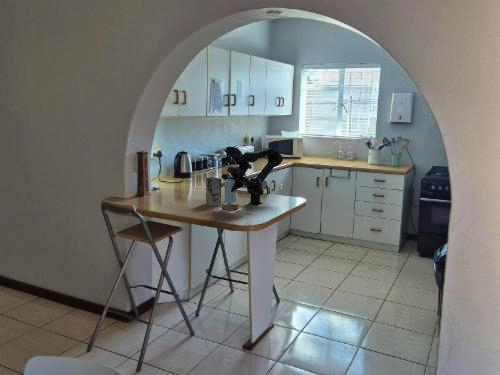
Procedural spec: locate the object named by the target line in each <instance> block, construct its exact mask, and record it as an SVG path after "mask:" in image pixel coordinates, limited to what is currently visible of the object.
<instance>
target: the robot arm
mask: <svg viewBox="0 0 500 375" xmlns="http://www.w3.org/2000/svg"><path fill="white" fill-rule="evenodd" d="M230 157H231V159H232V160H233V162H234V163H235V165H237V166H235V167H234V166H233V167H232V166H228V167H227V170H226V172H227V173H225V172H224V173H222V175H221V176H220V177H221V178H222V180H223V181H224V180H227V179H233V180H235V184H234V186H233V188H232V190H231V192H234V191H235V190H236V191H237V190H238V189H240V188H242V187H244V186H246V190H247V194H250V199H249V200H250V202H248V204H249V205H255V206H258V205H261V204H263V202H262V201H261V196H263V195H264V193H265V190H264V189H263V188H262V187H263V182H264V181H265V180H266V178H267V177H268V176H269V175H270V173H271V172H272V171H273V169H274V168H276V167H278V166H279V165H280V164H282V162H283V160H284V158H283V156H282V155H281V153H279V152H278V151H277V150H275V149H274V148H272V147H266V148H263V149H260V150H257V151H245V152H244V153H243V152H242V151H241V150H237V151H235V152H233V153H232V154H231V156H230ZM264 157H267V163H266V164H265V166H264V167H263V168H262V170H261V171H260V172H258V174H257V176H255V178H254V177H251V178H250V179H249V178H248V177H247V174H246V173H247V172H248V170H249V169H250V170H252V169H253V168H252V164H251V163H253V164H254V163H255V162H257V161H258V160H259V159H261V158H264Z"/></svg>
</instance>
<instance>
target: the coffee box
mask: <svg viewBox="0 0 500 375" xmlns="http://www.w3.org/2000/svg"><path fill="white" fill-rule="evenodd" d="M205 191H206V192H205V196H206V200H205V202H206V204H207V205H210V206H212V207H215V206H222V179H221V178H220V177H216V176H212V177H211V176H209V177H205Z"/></svg>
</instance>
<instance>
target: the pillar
mask: <svg viewBox="0 0 500 375" xmlns="http://www.w3.org/2000/svg"><path fill="white" fill-rule="evenodd" d="M223 181H224V182H223V183H224V203H237V202H236V201H237V197H236V195H237V194H236V191H237V190H235V191H234V192H231V190H232V188H233V186H234V184H235V180H233V179H227V180H224V179H223Z"/></svg>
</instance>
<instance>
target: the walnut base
mask: <svg viewBox="0 0 500 375" xmlns="http://www.w3.org/2000/svg"><path fill="white" fill-rule="evenodd" d="M244 210H247V207H242V206H239V203H236V202H234V203H226V202H224V203H221V207H219V208H216V209H214V210H213V212H216V213H222V214H228V215H232V214H235V213H237V212H241V211H244Z"/></svg>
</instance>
